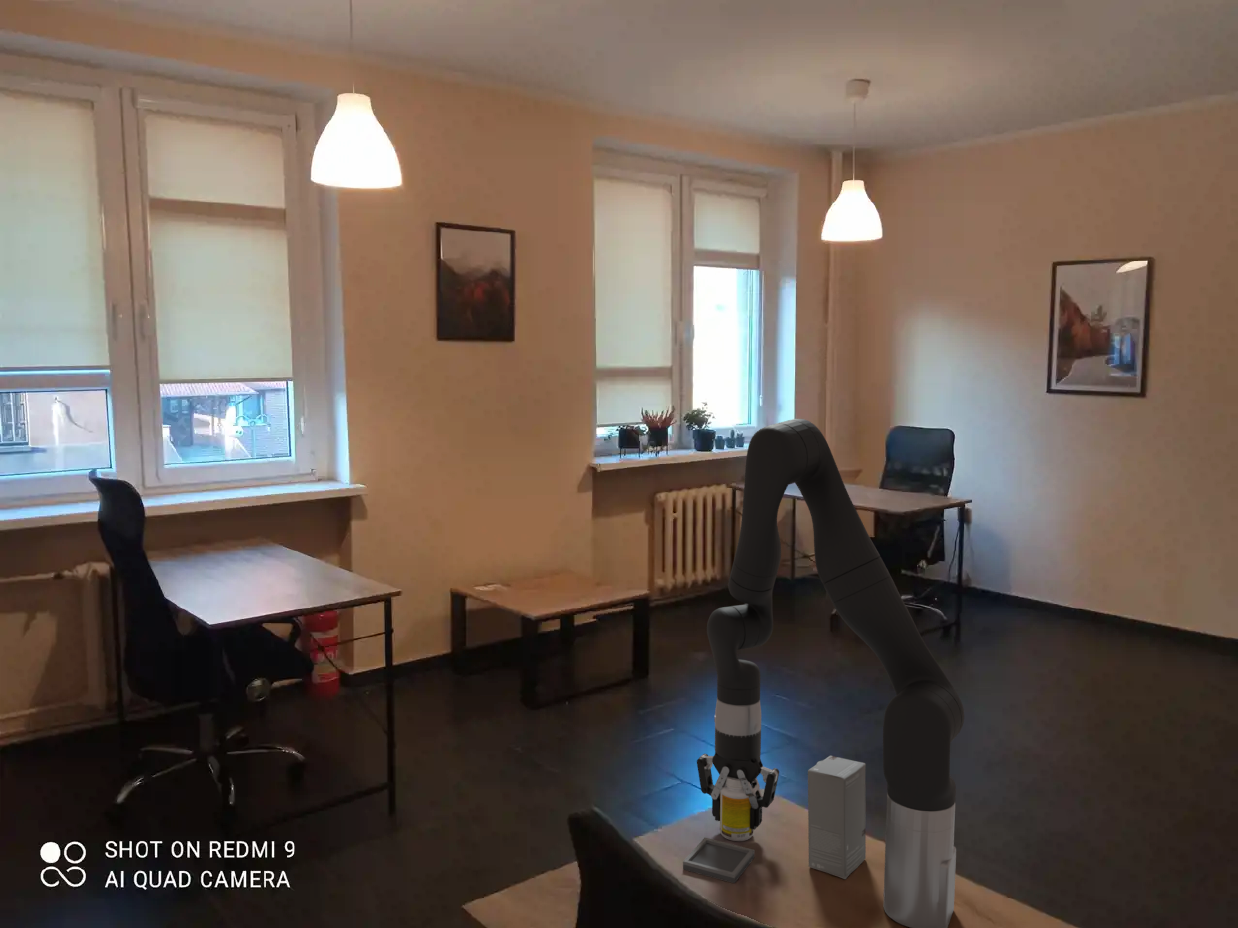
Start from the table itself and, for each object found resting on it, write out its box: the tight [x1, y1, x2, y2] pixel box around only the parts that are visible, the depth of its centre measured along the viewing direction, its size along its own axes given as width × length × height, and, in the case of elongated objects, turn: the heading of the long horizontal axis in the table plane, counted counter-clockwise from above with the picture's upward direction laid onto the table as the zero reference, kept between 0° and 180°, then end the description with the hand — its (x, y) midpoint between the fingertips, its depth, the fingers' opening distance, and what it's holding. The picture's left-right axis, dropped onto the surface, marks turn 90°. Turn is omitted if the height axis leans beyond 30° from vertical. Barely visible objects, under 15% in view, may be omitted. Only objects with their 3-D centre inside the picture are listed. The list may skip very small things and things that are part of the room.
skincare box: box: [807, 755, 867, 880], centre depth 151 cm, size 8×7×16 cm
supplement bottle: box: [719, 777, 755, 842], centre depth 161 cm, size 6×6×10 cm
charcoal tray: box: [682, 837, 755, 884], centre depth 152 cm, size 8×8×1 cm
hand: (736, 822), depth 161 cm, fingers closed on supplement bottle, 5 cm apart
